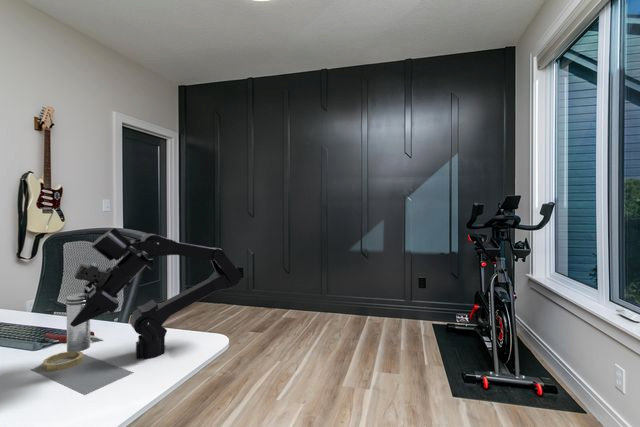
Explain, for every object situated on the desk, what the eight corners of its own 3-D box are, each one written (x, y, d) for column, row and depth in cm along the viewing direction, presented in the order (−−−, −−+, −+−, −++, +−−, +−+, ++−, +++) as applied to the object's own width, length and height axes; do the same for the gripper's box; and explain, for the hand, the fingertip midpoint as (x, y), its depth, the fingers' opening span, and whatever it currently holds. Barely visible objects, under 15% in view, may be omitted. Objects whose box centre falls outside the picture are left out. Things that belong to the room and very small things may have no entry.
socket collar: (83, 357, 90) (83, 348, 90) (81, 369, 83) (81, 359, 83) (45, 364, 85) (45, 355, 85) (40, 378, 79) (40, 367, 79)
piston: (91, 342, 83) (91, 292, 83) (90, 349, 79) (89, 296, 79) (67, 346, 80) (67, 294, 80) (65, 354, 76) (64, 299, 76)
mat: (30, 373, 81) (30, 369, 81) (79, 356, 91) (79, 352, 91) (85, 399, 70) (85, 394, 70) (134, 376, 80) (134, 372, 80)
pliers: (78, 354, 93) (78, 345, 93) (41, 342, 101) (41, 333, 101) (118, 340, 103) (118, 332, 103) (81, 330, 112) (81, 322, 112)
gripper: (94, 248, 89) (41, 295, 82) (101, 256, 75) (38, 313, 68) (127, 273, 94) (80, 319, 87) (140, 285, 80) (85, 341, 73)
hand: (71, 322), depth 79 cm, fingers closed on piston, 5 cm apart
